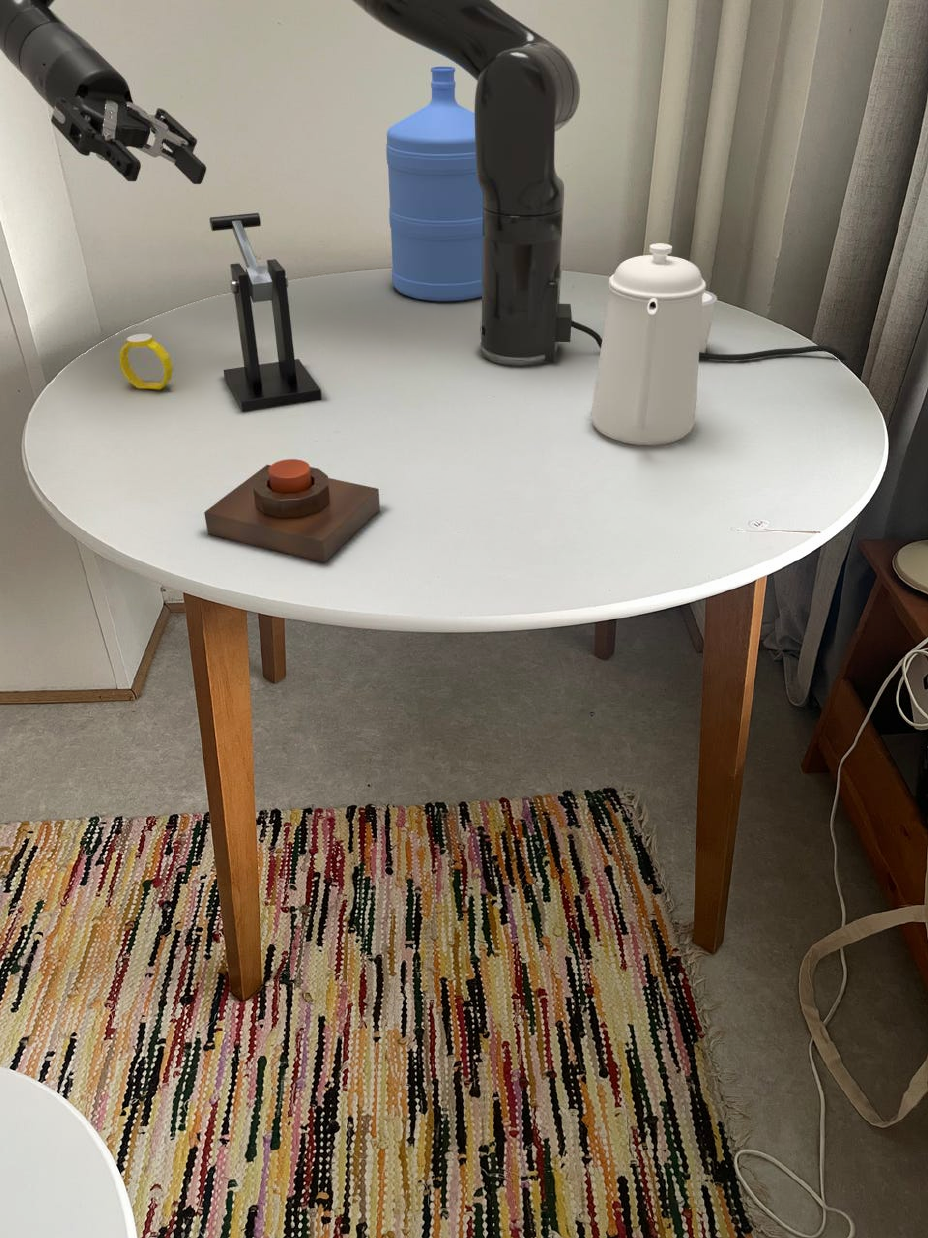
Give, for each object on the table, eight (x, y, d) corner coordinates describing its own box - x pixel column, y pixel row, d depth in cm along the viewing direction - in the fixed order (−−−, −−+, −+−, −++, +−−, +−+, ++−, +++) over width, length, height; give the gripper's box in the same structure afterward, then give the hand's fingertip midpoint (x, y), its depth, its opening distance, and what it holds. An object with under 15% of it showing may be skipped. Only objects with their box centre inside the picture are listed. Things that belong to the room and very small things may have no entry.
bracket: (224, 379, 117) (206, 258, 109) (299, 368, 120) (287, 250, 112) (242, 411, 110) (224, 285, 102) (321, 399, 112) (310, 275, 104)
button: (319, 481, 89) (317, 463, 88) (297, 499, 86) (295, 480, 85) (284, 473, 90) (282, 455, 89) (262, 491, 87) (260, 473, 86)
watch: (180, 385, 116) (171, 335, 112) (167, 395, 113) (158, 344, 110) (134, 380, 117) (123, 330, 113) (121, 389, 115) (110, 338, 111)
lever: (210, 229, 114) (208, 210, 112) (258, 224, 115) (257, 206, 113) (237, 304, 107) (236, 285, 105) (287, 298, 109) (287, 279, 107)
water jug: (472, 309, 137) (472, 79, 120) (372, 294, 142) (359, 72, 126) (516, 278, 148) (522, 63, 132) (422, 265, 154) (417, 57, 137)
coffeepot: (577, 477, 97) (590, 282, 86) (600, 379, 117) (614, 210, 106) (691, 488, 95) (719, 289, 84) (695, 386, 115) (718, 215, 104)
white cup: (675, 338, 128) (681, 282, 124) (720, 351, 124) (729, 295, 120) (642, 352, 124) (648, 295, 120) (688, 366, 120) (695, 308, 116)
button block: (380, 509, 92) (377, 470, 90) (324, 563, 84) (320, 522, 82) (269, 484, 96) (264, 446, 94) (207, 533, 88) (200, 493, 86)
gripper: (22, 35, 98) (123, 136, 94) (139, 54, 109) (233, 145, 105) (6, 107, 102) (102, 206, 99) (120, 118, 113) (210, 208, 110)
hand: (170, 174), depth 102 cm, fingers open, 8 cm apart
